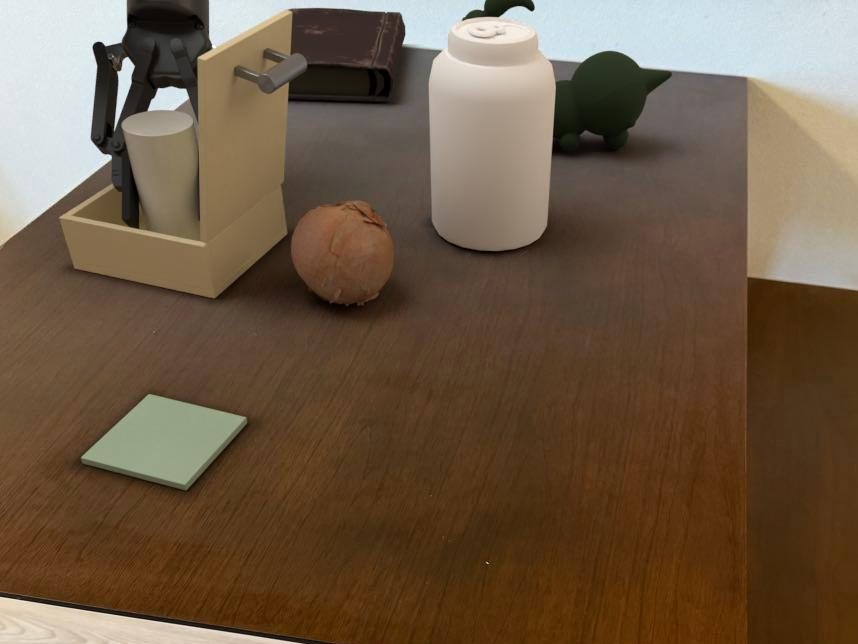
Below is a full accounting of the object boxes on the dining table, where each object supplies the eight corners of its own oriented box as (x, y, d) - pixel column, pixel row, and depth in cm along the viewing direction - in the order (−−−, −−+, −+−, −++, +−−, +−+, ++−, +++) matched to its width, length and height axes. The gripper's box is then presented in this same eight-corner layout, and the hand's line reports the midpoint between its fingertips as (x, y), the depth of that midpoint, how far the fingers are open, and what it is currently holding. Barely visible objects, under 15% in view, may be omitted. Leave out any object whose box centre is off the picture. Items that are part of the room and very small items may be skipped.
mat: (82, 463, 73) (80, 457, 73) (150, 399, 80) (148, 393, 79) (186, 490, 72) (184, 484, 71) (247, 423, 78) (246, 417, 77)
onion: (379, 309, 97) (417, 216, 93) (361, 335, 89) (402, 233, 84) (291, 268, 96) (325, 171, 91) (264, 289, 87) (300, 184, 83)
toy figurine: (473, 173, 119) (674, 157, 119) (459, 3, 106) (685, -14, 106) (471, 143, 126) (661, 128, 126) (457, -20, 113) (670, -36, 113)
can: (461, 263, 99) (461, 54, 85) (413, 213, 106) (406, 14, 93) (568, 241, 103) (584, 39, 89) (514, 194, 111) (521, 2, 97)
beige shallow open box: (74, 268, 95) (58, 217, 91) (158, 208, 105) (147, 160, 101) (214, 298, 92) (204, 246, 88) (287, 233, 102) (281, 184, 98)
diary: (406, 45, 148) (405, 10, 145) (395, 104, 130) (393, 65, 127) (284, 41, 148) (279, 5, 144) (255, 100, 130) (250, 60, 126)
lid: (197, 57, 76) (248, 76, 76) (285, 9, 86) (331, 26, 86) (200, 241, 88) (244, 258, 87) (277, 179, 98) (318, 195, 98)
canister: (137, 251, 96) (106, 129, 88) (173, 224, 101) (147, 105, 92) (193, 263, 95) (168, 140, 87) (227, 235, 99) (206, 116, 91)
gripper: (277, 13, 98) (277, 239, 97) (80, 8, 96) (80, 237, 96) (262, -33, 90) (262, 212, 90) (49, -39, 89) (48, 209, 88)
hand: (168, 224), depth 93 cm, fingers closed on canister, 6 cm apart
